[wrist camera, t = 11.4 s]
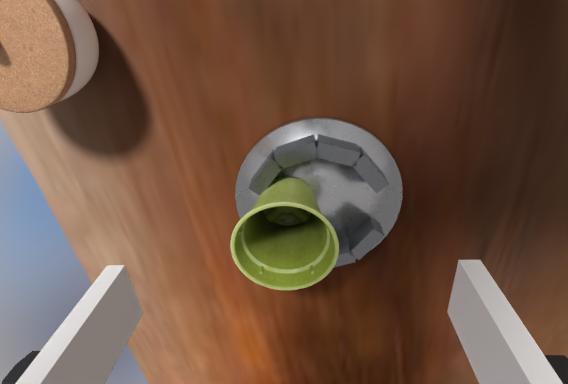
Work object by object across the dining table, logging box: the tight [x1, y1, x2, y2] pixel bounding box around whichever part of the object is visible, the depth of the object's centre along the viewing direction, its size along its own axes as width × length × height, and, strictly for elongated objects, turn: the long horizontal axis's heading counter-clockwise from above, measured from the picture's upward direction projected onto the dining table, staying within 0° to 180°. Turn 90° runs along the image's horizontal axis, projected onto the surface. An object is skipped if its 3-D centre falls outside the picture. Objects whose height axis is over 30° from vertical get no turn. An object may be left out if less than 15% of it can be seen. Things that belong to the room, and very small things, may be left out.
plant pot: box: [231, 177, 339, 290], centre depth 33 cm, size 9×9×9 cm
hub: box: [235, 117, 403, 268], centre depth 36 cm, size 18×18×4 cm
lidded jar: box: [0, 0, 99, 113], centre depth 27 cm, size 11×11×9 cm
